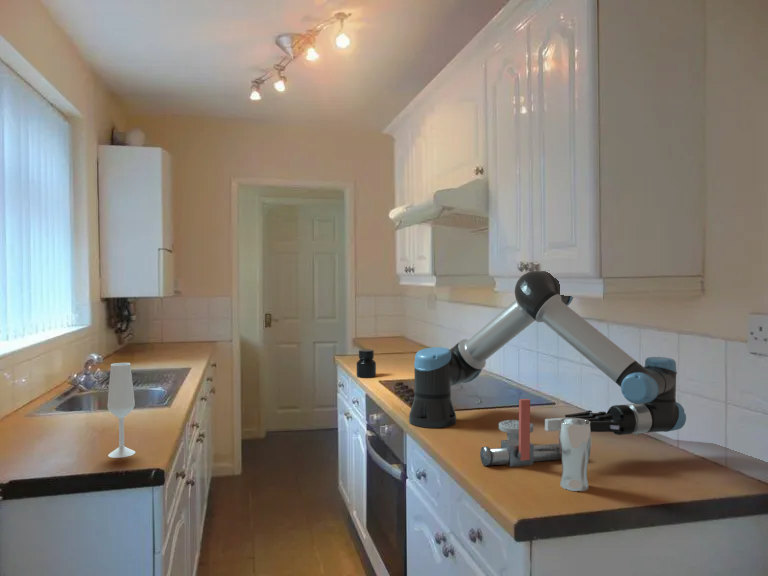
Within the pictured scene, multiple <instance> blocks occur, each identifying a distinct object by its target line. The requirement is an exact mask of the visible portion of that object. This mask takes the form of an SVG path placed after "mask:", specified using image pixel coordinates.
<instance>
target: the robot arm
mask: <svg viewBox="0 0 768 576" xmlns="http://www.w3.org/2000/svg"><path fill="white" fill-rule="evenodd" d="M546 271H547V270H531V271H528V272H525V273H524V274H523V275H522V276H521V277H519V279H517V281H516V284H515V286H514V296H515V300H514V301H513V302H511V303H510V304H509V305H508V306H506V308H505V309H503V310H501V312H500V313H499V314H497V315H496V316H495V317H494V318H493V319H491V320H490V321H489V322H488V323H486V324H485V326H483V327H482V328H481V329H480V330H478V332H476V333H474V335H473V336H471V337H470V338H469V339H467V338H465V339H461V340H460V341H459V342H457V343H456V344H455V345H454V346H453V347H451V348H450V349H449V348H447V347H441V346H440V347H439V346H438V347H437V346H435V347H428V348H422V349H420V350H418V351H417V352H416V354H415V356H414V363H413V366H414V398H413V402H412V405H411V408H410V411H409V414H408V422H409V423H410V424H411V425H413V426H417V427H421V428H428V429H429V428H430V429H431V428H435V429H439V428H440V429H441V428H446V427H447V428H448V427H451V426H454V425H455V424H456V423H457V414H456V412H455V411H456V410H455V408H454V404H453V401H452V395H451V394H452V393H451V392H452V386H454V385H455V386H456V385H460V384H464V383H469V382H472V381H474V380H475V379H476V378H478V377H479V375H480V374H481V372H482V371H483V368H485V367H486V364H487V363H486V362H487V361H486V360H488V359H489V358H491V356H492V355H494V354H495V353H497V352H498V351H499V350H500V349H501V348H503V347H504V346H505V345H507V343H509V342H510V341H512V340H514V338H515V337H516V336H518V335H519V334H520V333H521V332H523V331H524V330H525V329H526V328H527V327H529V326H531V325H532V323H534V322H537V323H544V324H545V325H546V326H547V327H549V328H550V329H551V330H552V331H553V332H555V333H556V335H558V336H559V337H561V338H562V340H564V341H565V342H566V343H567V344H569V345H570V346H571V347H572V348H574V350H576V351H577V352H579V354H581V355H582V356H583V357H584V358H586V359H587V360H588V361H589V362H590V363H591V364H592V365H594V366H595V367H596V368H597V369H598V370H600V371H601V372H602V373H603V374H605V375H606V377H608V378H609V379H610V380H612V381H613V382H614V383H615V384H616V385H618V386H619V387H620V391H621V393H622V395H623V397H624V399H625V400H627V401H628V402H630V403H627V404H615V405H612V406H610V407H609V408H608V410H607V412H606V411H598V412H593V411H592V410H587V411H583V412H582V411H581V412H577V413H576V412H575V413H569V414H565V415H564V417H557V418H556V417H555V418H545V419H544V431H547V432H555V431H556V432H559V429H560V420H561V419H563V418H581V419H585V420H588V421H590V426H591V433H609V432H610V433H612V434H614V435H616V436H622V435H625V436H626V435H634V434H635V436H639V435H640V434H646V433H662V432H665V433H668V432H673V431H677V430H681V429H682V428H683V427H684V426H685V424H686V422H687V414H686V413H685V408H684V406H683V405H682V404H681V403H680V402H677V399H676V397H677V374H678V371H677V362H676V360H674V359H673V358H671V357H664V356H663V357H662V356H650V357H647V358H645V361H644V366H643V365H642V364H641V363H639V362H638V361H637V360H636V359H634V358H633V357H632V356H631V355H629V354H628V353H627V352H626V351H624V350H623V349H622V348H621V347H620V346H618V345H617V344H616V343H615V342H613V341H612V340H611V339H610V338H609V337H607V336H606V335H604V333H602V332H601V331H599V330H598V329H597V328H595V326H593V325H592V324H591V323H589V322H588V321H587V320H586V319H585V318H584V317H582V316H581V315H580V314H578V313H577V312H576V311H575V310H574V309H572V308H571V307H569V305H570V304H571V303H572V301H573V299H574V297H572V296H564V295H560V284H559V281H558V280H557V279H556V278H554V277H553V276H552V275H551V274H550V273H548V272H546Z"/></svg>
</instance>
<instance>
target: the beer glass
mask: <svg viewBox="0 0 768 576" xmlns="http://www.w3.org/2000/svg"><path fill="white" fill-rule="evenodd" d="M562 418H563V419H561V420H560V429H559V431H558V443H559V448H560V455H561V459H560V460H561V466H562V467H561V469H562V471H561V478H560V479H561V480H560V483H559V484H560V487H561V488H563V489H564V490H566V489H567V490H566V491H570V492H577V491H580V492H586V491H588V490H589V482H588V466H589V460H590V455H591V451H592V450H591V449H592V432H591V426H590V421H588V420H585V419H581V418H565V417H562Z"/></svg>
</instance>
